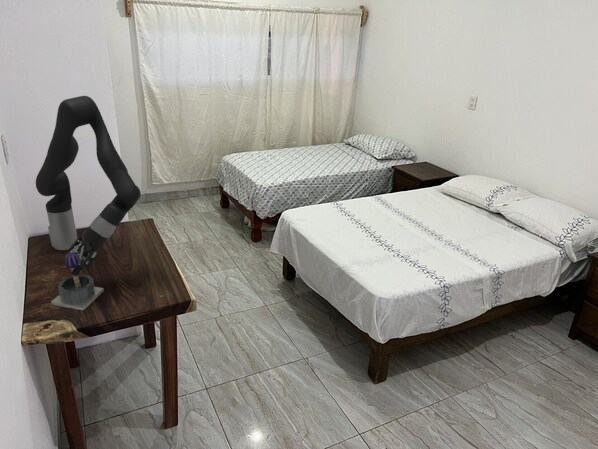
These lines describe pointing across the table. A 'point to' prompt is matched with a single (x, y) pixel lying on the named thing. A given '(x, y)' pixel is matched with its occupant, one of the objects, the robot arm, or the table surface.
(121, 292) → the table surface
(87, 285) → the collar stand
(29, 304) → the table surface
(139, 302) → the table surface
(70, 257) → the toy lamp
